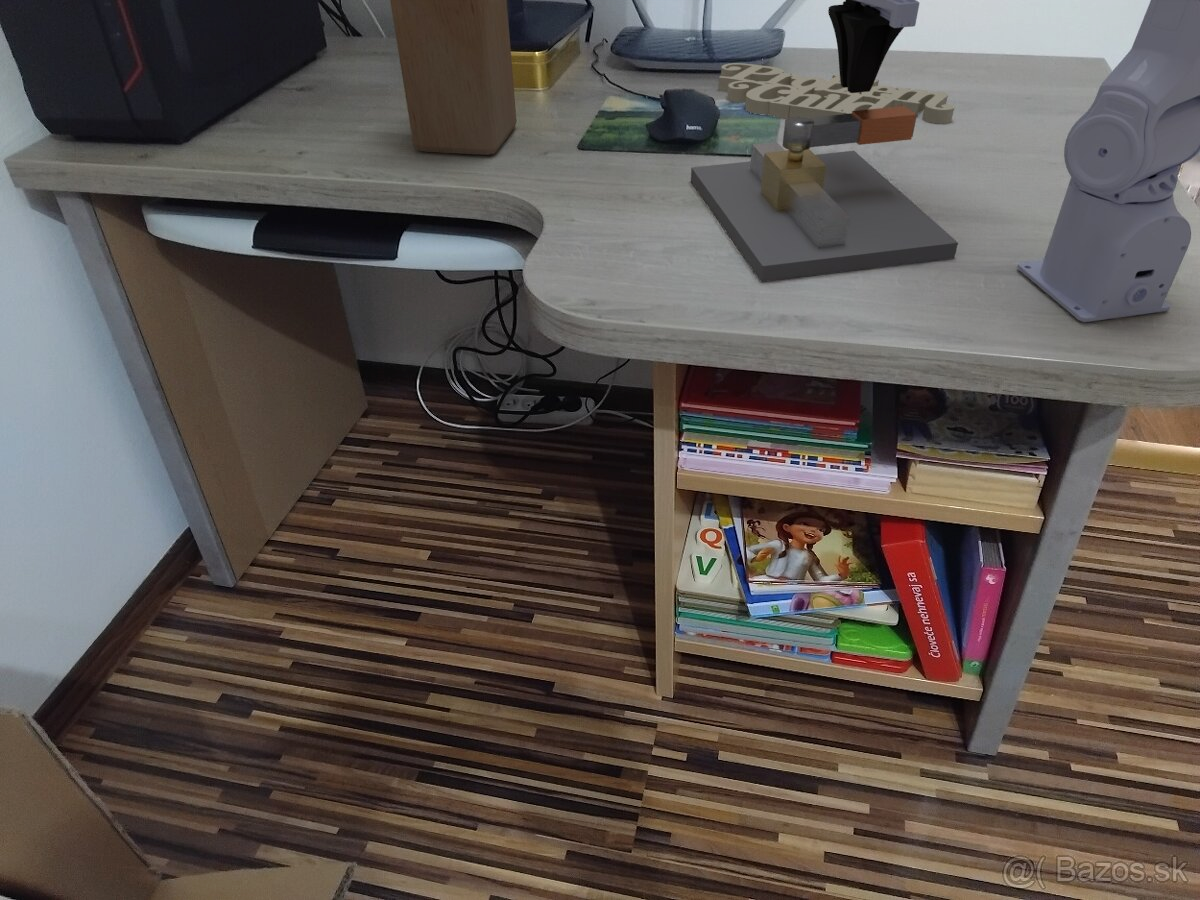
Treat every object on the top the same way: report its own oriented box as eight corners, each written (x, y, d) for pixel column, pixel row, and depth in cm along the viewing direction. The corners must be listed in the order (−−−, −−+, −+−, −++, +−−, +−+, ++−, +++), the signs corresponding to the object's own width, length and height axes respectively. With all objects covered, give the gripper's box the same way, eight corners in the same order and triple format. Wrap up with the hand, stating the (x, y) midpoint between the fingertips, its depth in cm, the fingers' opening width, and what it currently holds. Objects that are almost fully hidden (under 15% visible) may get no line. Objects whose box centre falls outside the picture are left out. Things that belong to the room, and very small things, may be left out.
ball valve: (854, 243, 78) (864, 189, 74) (807, 249, 77) (815, 194, 74) (782, 165, 91) (787, 117, 88) (741, 170, 91) (745, 121, 88)
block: (495, 158, 99) (475, -43, 86) (411, 154, 100) (378, -45, 87) (519, 127, 106) (504, -63, 93) (440, 123, 108) (414, -64, 95)
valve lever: (788, 152, 80) (791, 127, 79) (778, 142, 82) (781, 117, 81) (913, 139, 82) (918, 114, 81) (901, 129, 84) (905, 105, 83)
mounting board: (954, 258, 78) (958, 242, 77) (761, 281, 76) (762, 266, 75) (851, 164, 95) (854, 150, 94) (690, 181, 93) (691, 167, 92)
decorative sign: (684, 93, 109) (728, 60, 119) (684, 110, 110) (727, 76, 120) (940, 130, 98) (965, 90, 108) (935, 149, 99) (960, 107, 109)
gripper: (806, -84, 82) (789, 69, 90) (873, -54, 71) (847, 117, 79) (877, -88, 83) (853, 63, 91) (954, -59, 72) (919, 110, 80)
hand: (855, 88), depth 86 cm, fingers closed
